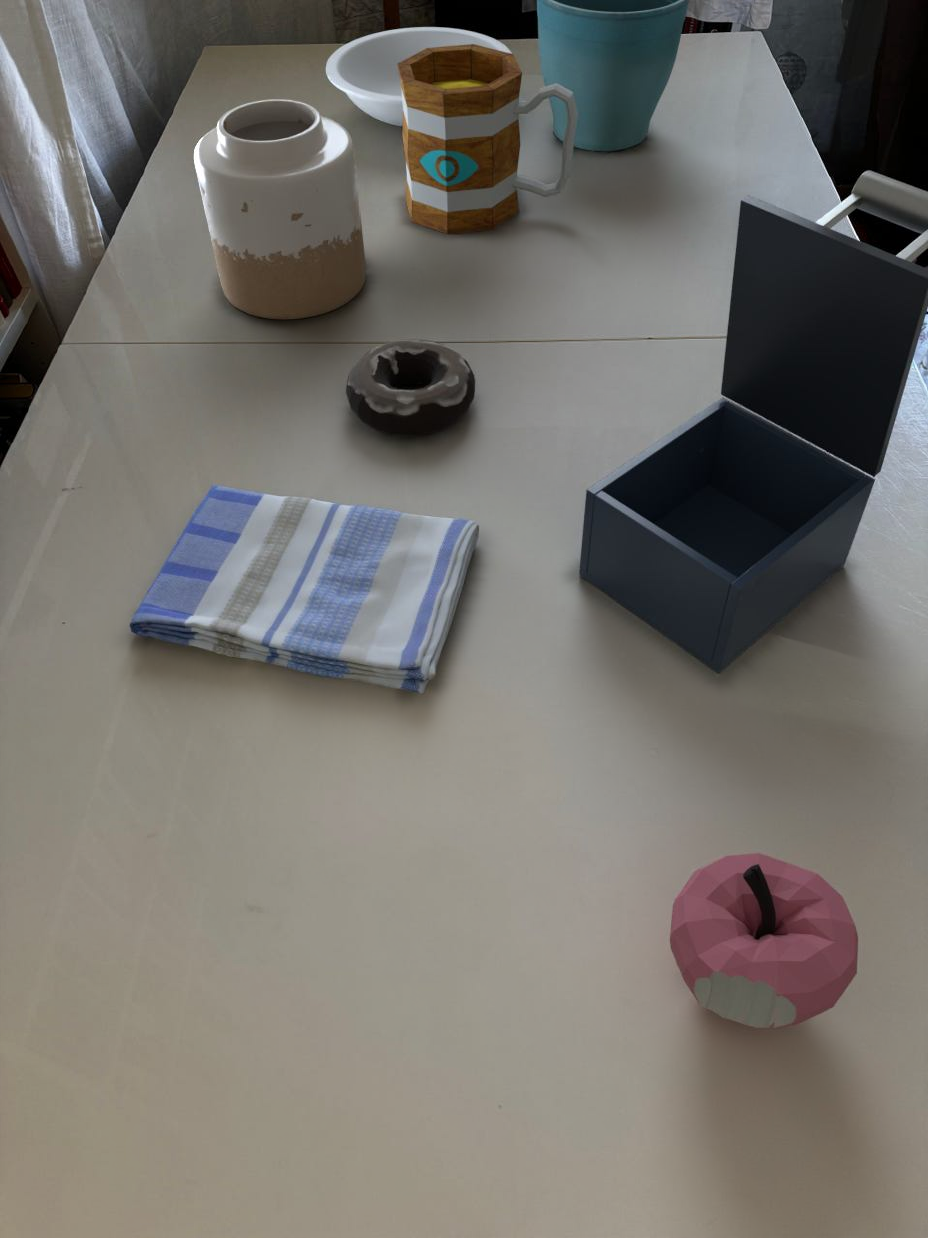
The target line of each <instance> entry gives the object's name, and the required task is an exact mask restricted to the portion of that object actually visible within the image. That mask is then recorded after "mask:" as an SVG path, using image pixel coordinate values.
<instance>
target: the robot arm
mask: <svg viewBox="0 0 928 1238" xmlns="http://www.w3.org/2000/svg"><path fill="white" fill-rule="evenodd" d="M887 2H888V0H841V2H840V5H839V12H840V18H841V19H844V20H847V21H848V23H847V26H846V31H845V36H844V40H843V44H842V48H841V53H840V56H839V61H838V65H837V69H836V74H835V78H834V82H836V83H839V84H843V85H847V84H848V83H850V82H853V81H854V80H857V79H858V78H861V77H862V76H864V75H866V74H868V73H869V72H870V68H871V64H872V60H873V57H874V52H875V49H876V44H877V41H878V37H879V33H880V30H881V24H882V21H883V17H884V13H885V9H886V6H887Z"/></svg>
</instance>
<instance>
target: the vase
mask: <svg viewBox="0 0 928 1238" xmlns="http://www.w3.org/2000/svg"><path fill="white" fill-rule="evenodd" d="M355 156H356V155H355V148H354V143H353V139H352V137H351V134H350V132H349V131H348V130H347V129H346V128H345V127H344V125H342V124H340V123H339V122H337V121H335V120H333V119H331V118H329V117H326V116H323V115H321V113H320V112H319V111H318V110H317V109H316V108H315V107H314V106H312V105H310V104H309V103H305V102H303V101H299V100H295V99H284V98H282V99H281V98H275V99H273V98H272V99H263V100H261V99H260V100H255V101H250V102H247V103H244V104H241V105H238V106H236V107H233V108H231V109H230V110H228V111H226V112H225V113H224V114H223V115H222V116H221V117H220V118H219V120H218V121H217V126H216V127H213V128H212V129H210V130H209V131H208V132H207V133H205V134H204V135H203V136H201V138H200V140H199V141H198V143H197V144H196V146H195V148H194V153H193V160H194V167H195V172H196V177H197V181H198V186H199V190H200V195H201V200H202V204H203V209H204V213H205V218H206V222H207V226H208V231H209V232H208V233H209V235H210V240H211V245H212V249H213V254H214V259H215V264H216V269H217V272H218V277H219V280H220V286H221V289H222V292H223V295H224V296H225V298H226V299H227V300H228V302H229V303H230V304H231V305H232V306H233V307H234V308H236V309H237V310H239V311H242V312H244V313H246V314H248V315H251V316H255V317H259V318H263V319H270V320H271V319H272V320H298V319H306V318H311V317H316V316H319V315H323V314H326V313H328V312H329V313H330V312H332V311H334V310H336V309H338V308H340V307H342V306H344V305H345V304H347V303H349V302H351V301H352V300H353V299H354V298H355V297H356V296H357V295H358V294H359V293H360V292H361V290H362V288H363V287H364V285H365V282H366V278H367V266H366V254H365V245H364V233H363V225H362V215H361V206H360V195H359V187H358V176H357V168H356V167H357V166H356V157H355Z"/></svg>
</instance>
